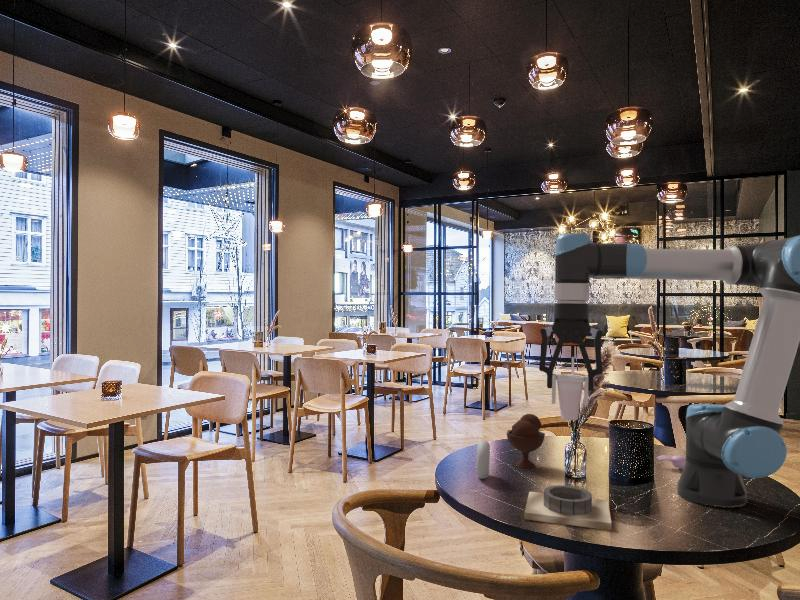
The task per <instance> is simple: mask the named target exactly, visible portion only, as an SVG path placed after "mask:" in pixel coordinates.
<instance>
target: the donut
mask: <svg viewBox="0 0 800 600" xmlns="http://www.w3.org/2000/svg"><path fill="white" fill-rule="evenodd" d="M476 448H477V449H476V469H475V470H476V475H477V477H478V478H479V479H480V480H485V479H487V478H488V477H489V475H490V460H491V459H490V453H491V452H490V451H491V449H490V448H491V445H490V443H489V442H488V441H487V440H480V441H479V442H478V443H477V447H476Z"/></svg>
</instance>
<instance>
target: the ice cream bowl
mask: <svg viewBox="0 0 800 600" xmlns="http://www.w3.org/2000/svg"><path fill="white" fill-rule="evenodd" d="M541 427H542V422H541V420H540V418H539V417H538V416H537V415H536V414H533V413H526V414H524V415H522V416H521V418H520V419H519V420H517V421H515V423H514V424H513V425H512V426H511V429H508V430H507V432H506V436H507V440H508V443H509V444H510V445H511V446H512V447H513V448H515V449H516V450H518V451H519V452H521V454H522V455H521V456H522V457H521V458H522V459H520V460H518V461H517V462H516V464H515V466H516V467H517V468H520V469H529V470H530V469H534V468H535V467H536V464H535V463H533V461H531V460H529V454H530V453H532V452H534V451H536V450H538V449H539V448H540V447H541V446H542V445H543V443H544V440H545V437H546V433H544V432H542V431H541V430H540V428H541Z"/></svg>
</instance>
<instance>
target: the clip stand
mask: <svg viewBox="0 0 800 600" xmlns="http://www.w3.org/2000/svg"><path fill="white" fill-rule="evenodd" d="M524 520H526V521H527V520H528V521H535V522H543V523H549V524H550V523H551V524H552V523H553V524H557V525H558V524H559V525H567V526H576V527H582V528H590V529H596V530H597V529H598V530H605V531H607V530H608V531H612V519H611V512H610V505H609V501H608V499H600V498H599V499H598V498H593V495H592V493H591V492H590V491H588V490H586V489H584V488H580V487H577V486H574V485H573V486H572V485H565V484H564V485H562V484H561V485H560V484H559V485H558V484H557V485H549V486H548V487H545V488H544V489H543V492H537V491H529V492H528V496H527V500H526V505H525V510H524Z"/></svg>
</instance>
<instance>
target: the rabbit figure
mask: <svg viewBox="0 0 800 600" xmlns="http://www.w3.org/2000/svg"><path fill="white" fill-rule="evenodd" d="M655 459H657V461H662V460H664V461H669V462H671V463H672V465H673V467H675V468H678V469H679V470H680V471H683V468H684V466H685V463H686V457H684V456H682V455H675V456H674V455H673V456H670V455H667V454H662V455H659V456H657V457H655Z"/></svg>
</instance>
